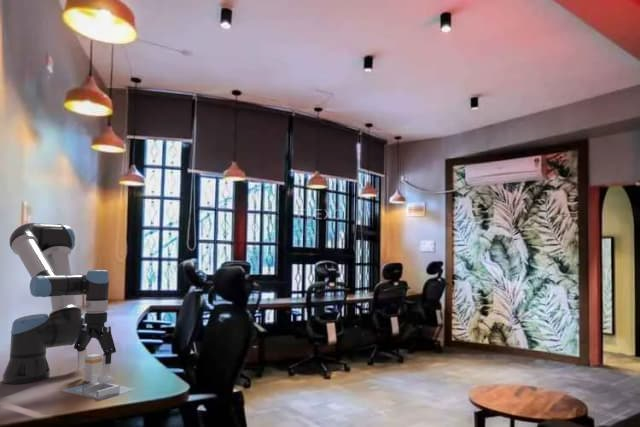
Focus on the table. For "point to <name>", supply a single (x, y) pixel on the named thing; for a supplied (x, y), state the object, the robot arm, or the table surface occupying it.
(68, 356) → the table surface
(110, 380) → the clip
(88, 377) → the white bottle
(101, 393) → the end holder
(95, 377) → the clip
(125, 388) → the board
